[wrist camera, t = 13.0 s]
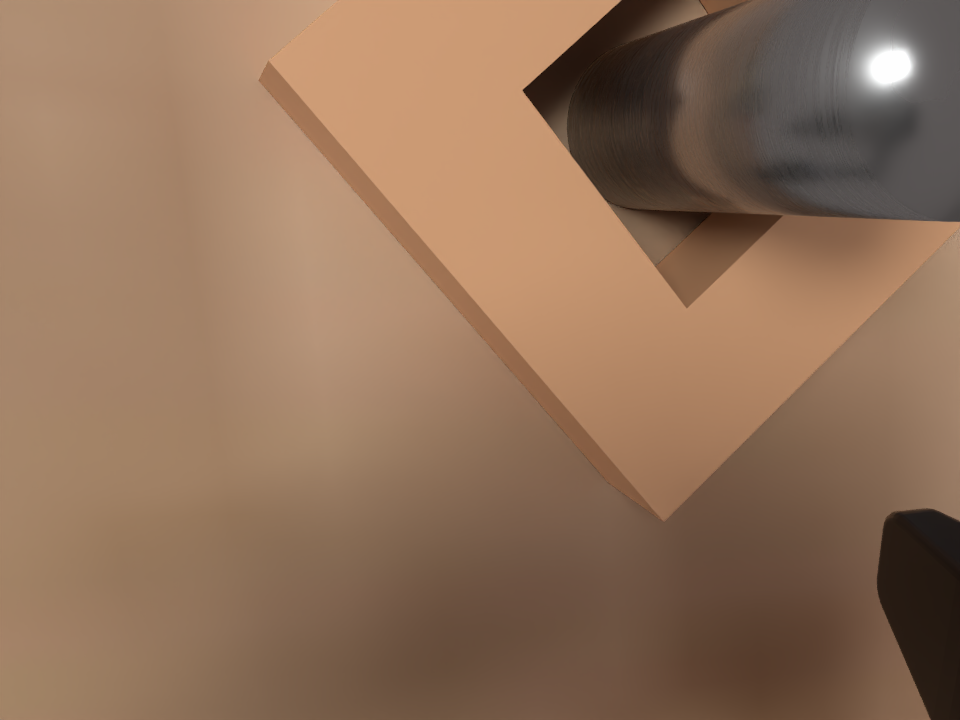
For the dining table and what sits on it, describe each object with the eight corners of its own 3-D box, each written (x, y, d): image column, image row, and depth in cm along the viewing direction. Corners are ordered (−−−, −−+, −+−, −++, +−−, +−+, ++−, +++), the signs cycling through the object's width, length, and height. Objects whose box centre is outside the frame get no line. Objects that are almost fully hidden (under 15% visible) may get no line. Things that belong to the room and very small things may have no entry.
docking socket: (608, 482, 23) (664, 522, 21) (258, 80, 19) (268, 60, 16) (941, 155, 25) (1036, 150, 22) (683, -289, 20) (759, -366, 18)
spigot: (630, 242, 22) (938, 279, 13) (535, 115, 21) (800, 53, 12) (741, 137, 23) (1118, 100, 13) (654, 6, 22) (1004, -137, 12)
